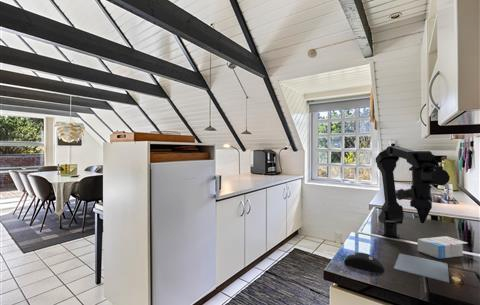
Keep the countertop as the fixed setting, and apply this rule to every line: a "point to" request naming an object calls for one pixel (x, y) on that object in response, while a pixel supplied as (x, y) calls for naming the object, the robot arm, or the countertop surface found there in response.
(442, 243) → the ink box
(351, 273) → the countertop surface
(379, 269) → the computer mouse
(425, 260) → the mat
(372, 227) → the countertop surface
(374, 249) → the countertop surface
